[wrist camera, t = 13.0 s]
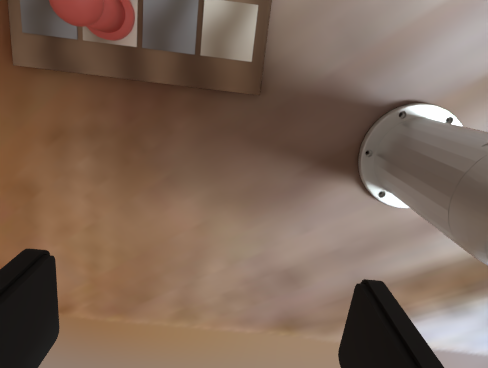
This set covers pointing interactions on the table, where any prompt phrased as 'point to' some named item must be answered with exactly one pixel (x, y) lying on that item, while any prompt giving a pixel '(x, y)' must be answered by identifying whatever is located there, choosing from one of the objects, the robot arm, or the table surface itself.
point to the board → (152, 43)
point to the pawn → (98, 16)
